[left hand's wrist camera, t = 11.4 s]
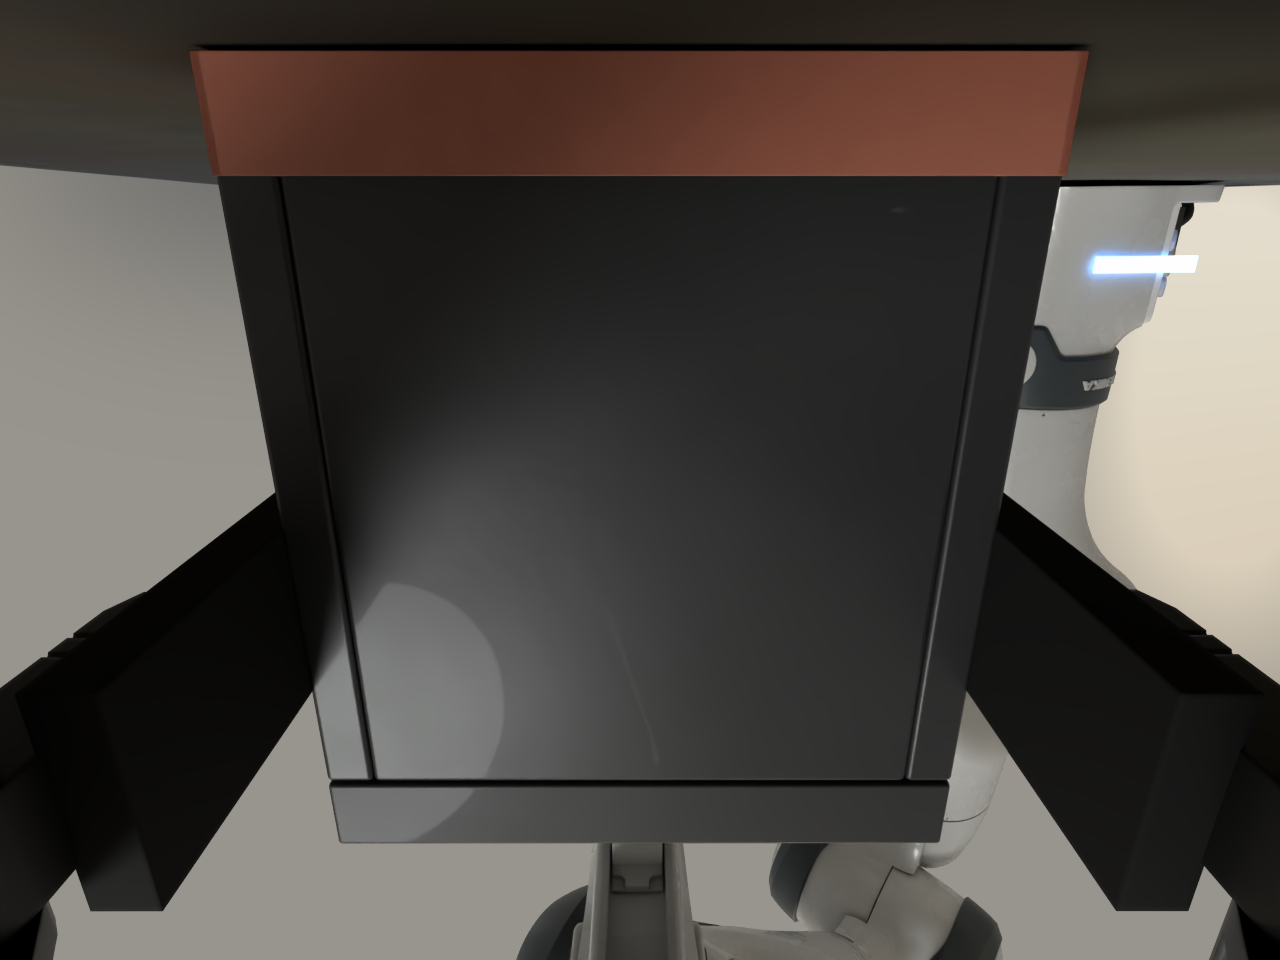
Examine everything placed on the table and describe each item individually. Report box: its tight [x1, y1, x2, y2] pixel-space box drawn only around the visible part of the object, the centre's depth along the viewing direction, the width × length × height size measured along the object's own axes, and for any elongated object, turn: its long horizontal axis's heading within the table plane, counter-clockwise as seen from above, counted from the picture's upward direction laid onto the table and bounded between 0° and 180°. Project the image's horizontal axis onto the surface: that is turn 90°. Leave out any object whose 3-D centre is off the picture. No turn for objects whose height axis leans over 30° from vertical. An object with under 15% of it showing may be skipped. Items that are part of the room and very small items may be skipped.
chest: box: [189, 50, 1089, 780], centre depth 15 cm, size 11×10×10 cm
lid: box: [329, 775, 950, 843], centre depth 19 cm, size 12×10×8 cm
